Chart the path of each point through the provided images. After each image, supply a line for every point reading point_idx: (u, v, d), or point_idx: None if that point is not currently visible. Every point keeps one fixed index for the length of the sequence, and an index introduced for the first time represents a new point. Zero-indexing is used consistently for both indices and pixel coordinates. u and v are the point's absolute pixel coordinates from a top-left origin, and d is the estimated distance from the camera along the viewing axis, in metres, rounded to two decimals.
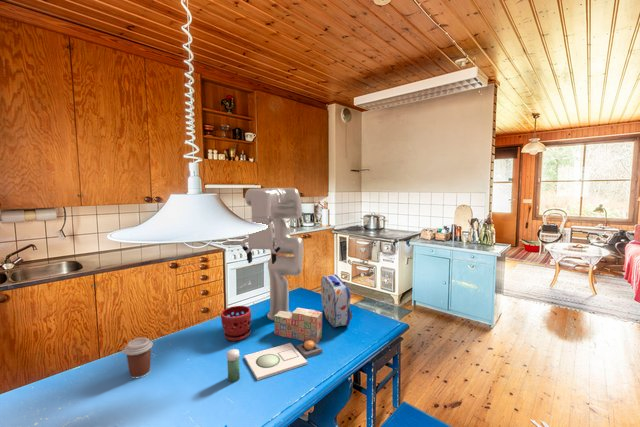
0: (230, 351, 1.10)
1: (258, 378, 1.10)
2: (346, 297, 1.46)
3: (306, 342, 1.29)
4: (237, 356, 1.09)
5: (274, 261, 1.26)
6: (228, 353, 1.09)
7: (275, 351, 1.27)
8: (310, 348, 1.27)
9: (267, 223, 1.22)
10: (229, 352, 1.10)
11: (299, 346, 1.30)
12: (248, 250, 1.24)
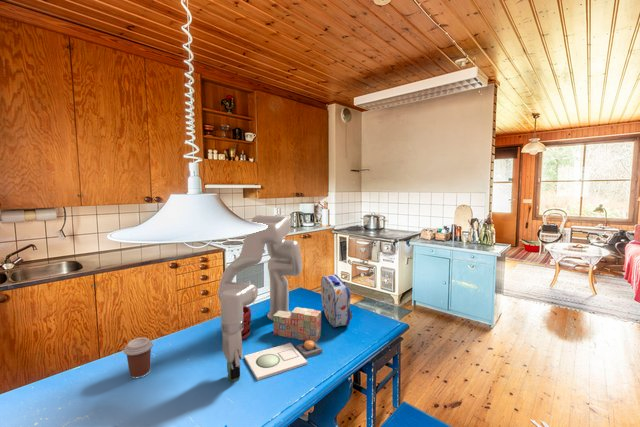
0: None
1: (258, 378, 1.10)
2: (346, 297, 1.46)
3: (306, 342, 1.29)
4: None
5: None
6: None
7: (275, 351, 1.27)
8: (310, 348, 1.27)
9: None
10: None
11: (299, 346, 1.30)
12: None
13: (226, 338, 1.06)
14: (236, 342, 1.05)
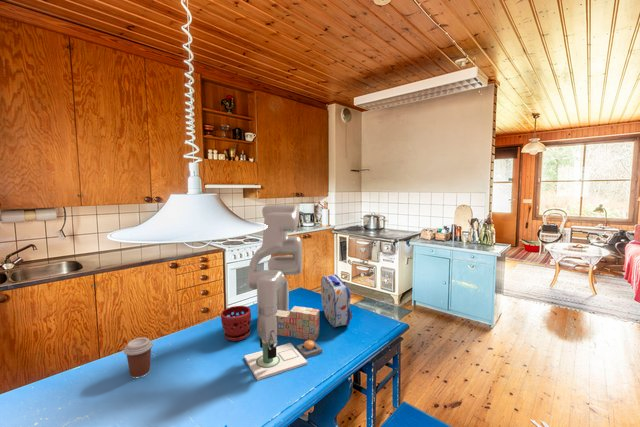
0: None
1: (258, 378, 1.10)
2: (346, 297, 1.46)
3: (306, 342, 1.29)
4: None
5: None
6: None
7: None
8: (310, 348, 1.27)
9: None
10: None
11: (299, 346, 1.30)
12: None
13: (262, 320, 1.15)
14: (272, 323, 1.14)
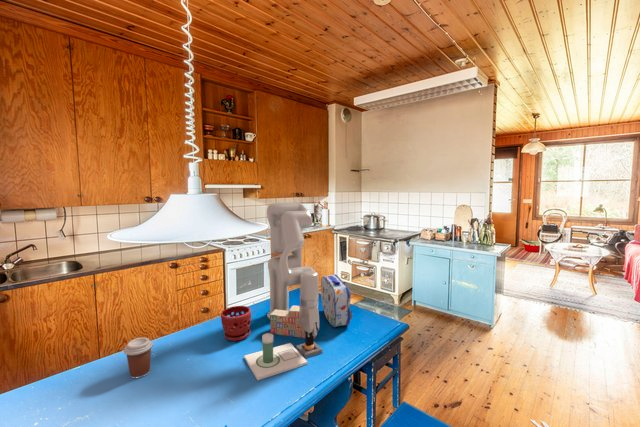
0: (265, 335, 1.20)
1: (258, 378, 1.10)
2: (346, 297, 1.46)
3: None
4: (272, 339, 1.18)
5: None
6: (263, 336, 1.18)
7: (275, 351, 1.27)
8: (310, 349, 1.27)
9: None
10: (264, 335, 1.19)
11: (299, 346, 1.30)
12: None
13: (306, 312, 1.24)
14: (315, 315, 1.23)
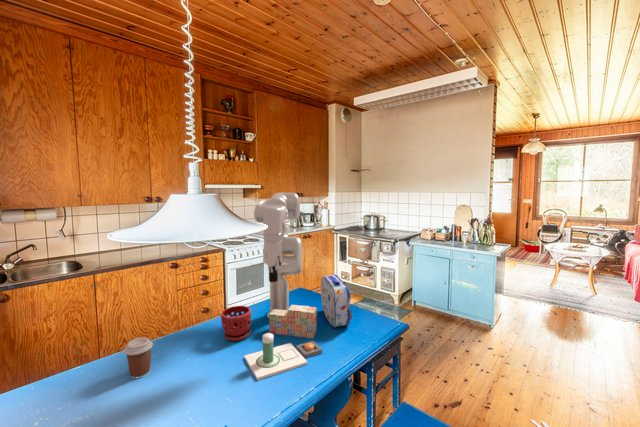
0: (265, 335, 1.20)
1: (258, 378, 1.10)
2: (346, 297, 1.46)
3: (306, 345, 1.29)
4: (272, 339, 1.18)
5: None
6: (264, 336, 1.19)
7: (275, 351, 1.27)
8: (310, 350, 1.27)
9: None
10: (264, 335, 1.19)
11: (299, 346, 1.30)
12: None
13: (268, 246, 1.23)
14: (277, 249, 1.22)
